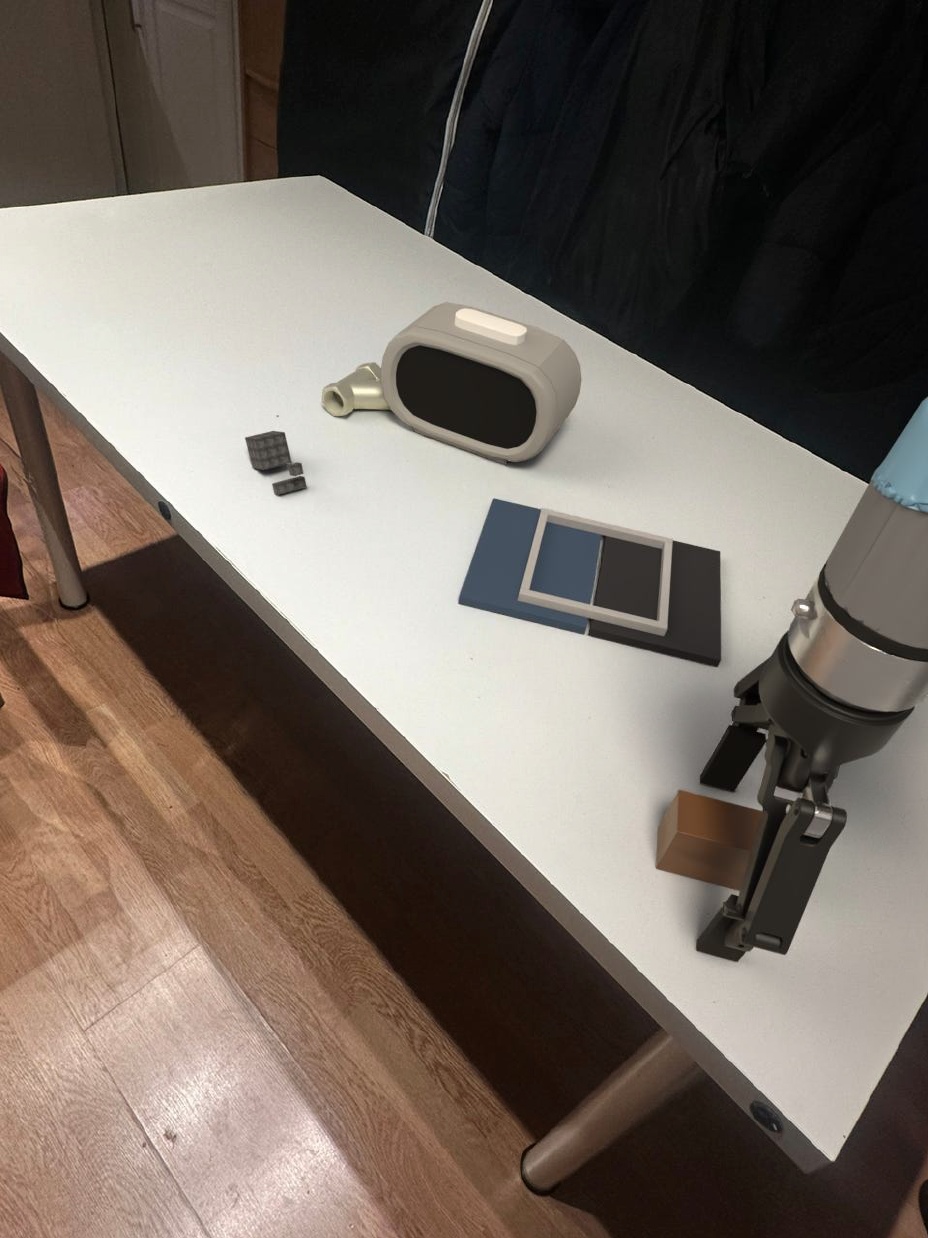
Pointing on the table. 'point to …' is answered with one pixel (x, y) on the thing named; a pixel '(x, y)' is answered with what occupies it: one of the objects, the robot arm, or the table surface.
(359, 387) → the pipe fitting
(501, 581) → the back pads
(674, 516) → the table surface
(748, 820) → the brown rectangular block
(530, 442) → the alarm clock
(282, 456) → the building blocks
